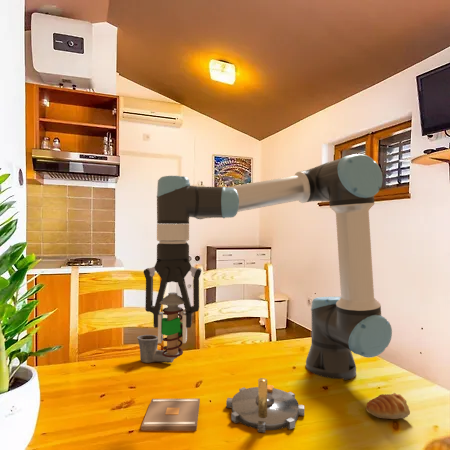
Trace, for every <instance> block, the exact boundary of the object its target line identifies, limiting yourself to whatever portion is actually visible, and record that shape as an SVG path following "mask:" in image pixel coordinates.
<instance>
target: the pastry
mask: <svg viewBox="0 0 450 450" xmlns="http://www.w3.org/2000/svg"><path fill="white" fill-rule="evenodd" d="M365 410H366V411H367V412H368V413H369V414H371V415H372V416H374V417H377V418H380V419H388V420H390V419H391V420H396V419H397V420H399V419H406V418H408V416H409V415H410V414H411V411H410V406H409V405H408V404H407V400H406V399H405V398H404V397H403V396H402V395H401V394H397V393H395V392H393V393H391V394H390V393H389V394H383V393H382V394H379V395H378V396H377V397H374V398H372V399H370V400H369V401H368V402H366V408H365Z"/></svg>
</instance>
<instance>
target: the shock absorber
mask: <svg viewBox="0 0 450 450" xmlns="http://www.w3.org/2000/svg"><path fill="white" fill-rule="evenodd" d="M160 304H162V305H164V306H167V307H164V308H162V310H161V312H163V316H164V315H165V316H166V317H163V318H162V334H163V336H166V337H163V341H162V342H167V343H166V345H164V346H163V347H162V350H165V351H163V353H162V355H163V356H165V357H167V358H169V359H174V360H175V359H177V358H179V357H180V356H182V355H183V353H184V352H183V349H182V348H181V347H182V346H183V340H181V338H183V314H181V312H184V308H183V307H180V306H179V305H184V301H183V299H182V296H180V295H178V292H168V295H166V296H164V297H163V299H162V301H160ZM162 305H161V306H162Z"/></svg>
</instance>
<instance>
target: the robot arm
mask: <svg viewBox="0 0 450 450" xmlns="http://www.w3.org/2000/svg"><path fill="white" fill-rule="evenodd" d="M383 180H384V179H383V173H382V169H381V167H380V166H379V164H378V163H377V161H375V160H374V159H373V158H372V157H371V156H369V155H366V154H364V153H363V154H360V153H358V154H357V153H356V154H351V155H346V156H344V157H341V158H338V159H335V160H333V161H328V162H325V163H322V164H320V165H317V166H315V167H312V168H308V169H306V170H301V171H297V172H296V173H295V174H294V175H291V176H286V177H285V176H284V177H280V178H274V179H268V180H267V179H266V180H263V181H256V182H251V183H245V184H238V185H234V186H227V187H225V186H196V185H191V183H190V179H189V177H187V176H184V175H183V176H180V175H164V176H161V177H160V178H159V179H157V187H156V188H157V190H156V191H157V192H156V240H157V242H159V243H157V244H156V262H155V264H154V266H152V267H147V268H145V269H144V270H143V275H144V279H145V308H144V309H145V311H146V312H147V313H151V314H153V327H154V328H155V329H157V337H158V344H162V343H163V342H164V341H163V338H164V335H163V334H162V318H164V315H163V313H164V312H163V311H162V310H161V309H162V308H161V307H162V304H160V301H162V299H163V298H165V292H166V289H167V285H168V283H171V282H172V283H177V284H178V288H179V291H180V295H181V297H182V299H183V301H184V304H183V306H184V311H183V313H182V317H183V318H182V323H183V337H182V344H186V343H187V340H188V328H189V329H190V328H191V327H192V323H193V322H192V318H193V315H192V314H193V313H195V312H198V311H199V309H200V277H201V274H202V271H203V270H202V269H201V268H199V267H198V268H197V267H194V266H192V265H191V261H190V245H189V243H188V241H189V240H190V218H194V219H197V220H204V219H211V218H212V219H213V218H214V219H215V218H219V219H227V218H228V219H229V218H234V217H236V215H238V213H239V212H244V211H245V212H246V211H250V210H256V209H260V208H266V207H272V206H276V205H282V204H287V203H291V202H297V201H298V202H300V203H302V204H303V203H304V204H305V203H309V202H328V203H329V208H330V209H331V210H332V211H333V212H334V213H335V220H336V234H337V235H336V237H337V238H336V239H337V253H338V254H337V255H338V270H339V271H338V272H339V286H340V296H318V297H315V298H313V299H312V301H311V308H310V312H311V344H310V347H309V351H308V353H307V357H306V360H305V368H306V369H307V371H308V372H310V373H312V374H314V375H317V376H319V377H322V378H327V379H335V380H336V379H339V380H341V379H342V380H343V381H348V380H351V379H353V378H355V377H356V375H357V365H356V361H355V358H354V356H353V354H355V355H359V356H361V357H364V358H368V359H370V358H375V357H377V356H379V355H381V354H382V353H383V352H384V351H385V350H386V348H388V347H389V345H390V343H391V340H392V336H393V328H392V325H391V324H390V322H389V321H388V319H387V318H386V317H384V316H382V308H381V307H382V305H381V303H380V302H379V301H378V300H377V299H376V298H375V293H374V292H375V291H374V290H375V289H374V275H373V274H374V273H373V258H372V257H373V256H372V242H371V241H372V240H371V228H370V209H372V208H373V206H374V205H375V196H376V195H377V194H378V193H379V191H380V189H381V188H382V186H383V182H384V181H383ZM155 272H156V273H157V274H158V276H159V277H160V278H161V280H160V284H159V288H158V293H157V296H156V300H155V304H154V305H153V303H154V301H153V300H154V297H153V296H154V277H155V275H156V273H155ZM189 272H190V273H191V276H192V278H193V283H192V285H193V290H192V291H193V293H192V296H193V301H192V302H193V304H192V303H191V300H190V296H189V293H188V289H187V285H186V279H185V278H186V276H187V275H188V273H189ZM191 304H192V305H191Z"/></svg>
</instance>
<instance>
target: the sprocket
mask: <svg viewBox="0 0 450 450" xmlns="http://www.w3.org/2000/svg"><path fill="white" fill-rule="evenodd" d="M257 381H258V383H257V384H258V386H255V387H254V386H253V387H248V388H246V387H241V388H239V391H238V392H237V393H236V394H234V396H233V397H227V399H226V402H225V403H226V405H225V406H226V408H227V409H228V408H229V409H231V414H230V415H231V421H232V422H233V423H234V424H238V423H241V424H242V425H244V426H246V427H250V428H251V429H256V430H257V432H258V433H266V431H277V430H283V429H285V428H287V429H288V430H292V429H294V428H296V423H297V420H298V419H299V416H301V417H302V416H305V405H303V404H299V402H298V400H297V399H296V394H295V393H293V392H292V391H289V392H287V391H285V390H282V389H278V388H273V386H274V385H271V384H268V379H267V378H263V377H260V378H258V379H257Z"/></svg>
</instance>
